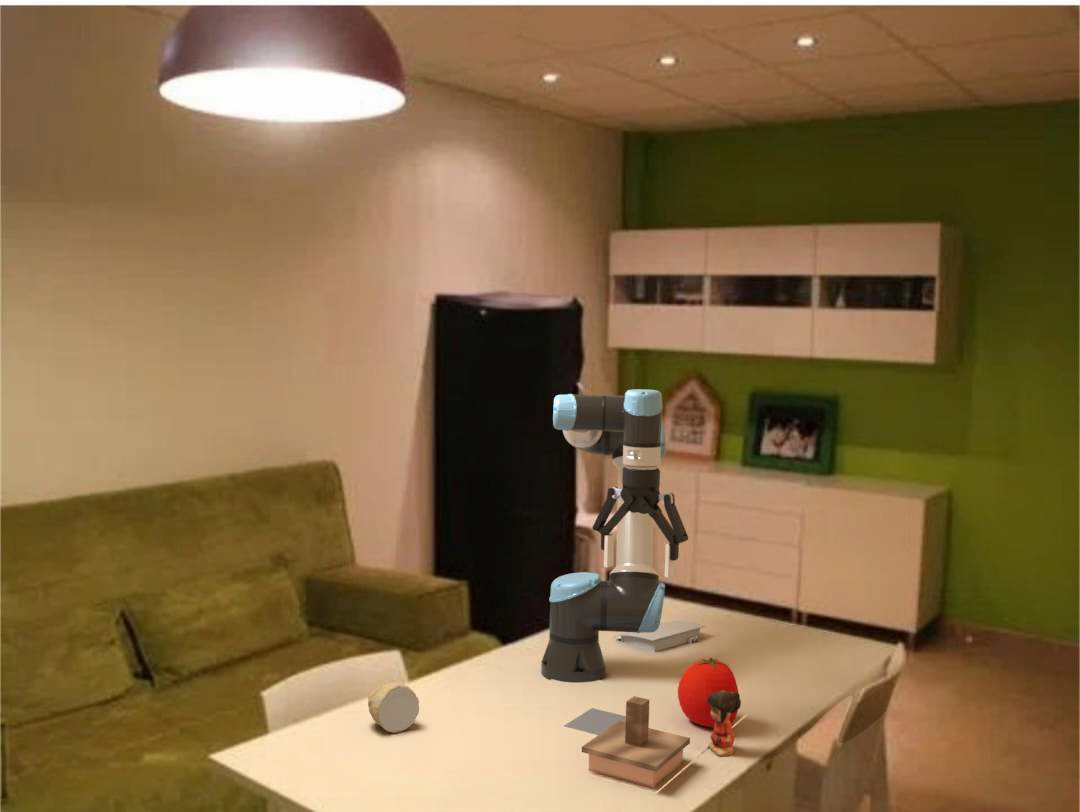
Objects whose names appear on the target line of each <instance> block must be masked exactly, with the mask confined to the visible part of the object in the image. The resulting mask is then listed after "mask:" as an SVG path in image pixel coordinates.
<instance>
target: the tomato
mask: <svg viewBox="0 0 1080 812" xmlns="http://www.w3.org/2000/svg"><path fill="white" fill-rule="evenodd" d="M729 666H730V665H729V664H727V663H725V662H723V661H720V660H718V659H717V658H715V659H713V657H709V658H706V659H704V658H701V659H700V660H699V661H696V662H694V663H692V664H690V666H688V667H687V668H686V670H685V671H684V672H683V674H682V676H681V678H680V680H679V682H678V686H677V699H678V703H679V706H680V707H681V708H680V709H681V710H682V713H683V714H684V715H685V717H687V719H689V721H691V722H692V723H695V724H697V725H700V726H703V727H704V728H705V727H707V728H712V729H714V724H715V720H714V719H713V718H712V717H711V707H710V706H709V704H708V701H707V698H708V697H709V695H710V694H712V693H716V692H719V691H723V690H724V691H727V692H731V691H732V692H734V693H739V687H738V683H737V680H736V677H735V675H734V673H733V671H732V670H731V668H730V667H729ZM738 710H739V709H738ZM738 710H737V711H736V712H735V713H732V714H730V717H729V719H730V722H731V724H732V725H733V723H734V721H735V720H736V718H737V715H738Z"/></svg>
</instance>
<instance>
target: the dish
mask: <svg viewBox="0 0 1080 812" xmlns="http://www.w3.org/2000/svg"><path fill="white" fill-rule="evenodd" d="M683 758H684V749H683V750H681V751H680V752H679V753H678V754H677V755H675V756H674V757H673V758H672V759H671V760H670V761H668V762H667V763H666V764H665V765H664V766H663V767H661V768H660V769H659V770H658V771H657V772H655V771H651V770H647V769H644V768H640V767H636V766H632V765H629V764H625V763H621V762H617V761H613V760H610V759H606V758H602V757H598V756H595V755H591V754H588V771H589V772H593V773H596V774H600V775H604V776H608V777H611V778H614V779H619V780H621V781H625V782H628V783H632V784H635V785H640V786H643V787H645V788H649V789H654V788H655V787H656V786H657V785H659V784H660V783H661V782H662V781H663V780H664V779H665V778H667V777H668V776H669V775H670V774H671V773H673V771H675V770H676V769H677V768H678V767H680V766H681V765H682V764H683V760H684V759H683Z"/></svg>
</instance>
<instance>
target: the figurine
mask: <svg viewBox="0 0 1080 812" xmlns="http://www.w3.org/2000/svg"><path fill="white" fill-rule="evenodd" d="M707 701H708V704H709V706H710V707H711V717H712V718H713V719H714V720H715V724H714V728H713V731H712V732H711V734H710V741H711V742H710V743H708V748H709V749H710V751H712V752H713V754H715V756H718V757H729V756H730V755H733V754H734V753H735V750H734V747H733V745H734V743H735V737H736V735H735V732H734V731H733V723H732V724H731V722H730V719H729V717H730V714H732V713H735V712H736V711H737V710H739V709H740V708H741V704H742V700H741V698H740V693H739V692H738V693H734V692H732V691H731V692H727V691H724V690H723V691H719V692H716V693H712V694H710V695H709V697H708V698H707ZM712 752H711V753H712Z"/></svg>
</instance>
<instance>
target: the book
mask: <svg viewBox="0 0 1080 812" xmlns="http://www.w3.org/2000/svg"><path fill="white" fill-rule="evenodd" d="M705 627H706V625H704V624H701V623H696V622H690V621H684V620H672V621H665V622H662V623H661V622H660V624H659V627H658V629H657V630H656V631H655V632H644V633H637V632H622V633H619V634H616V635H613V637H621V638H620V639H621V640H620V641H621V642H624V643H627V644H630V645H632V646H633V645H634V646H636V647H639V648H642V649H645V650H648V651H651V652H653V653H654V652H658V651H661V650H664V649H669V648H672V647H675V646H680V645H683V644H686V643H687V644H691V645H692V644H693V643H694V644H695V642H696V640H697V642H699V641H700V638H699V637H700V636H699V635H700V634H701V628H705ZM692 642H693V643H692Z"/></svg>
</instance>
